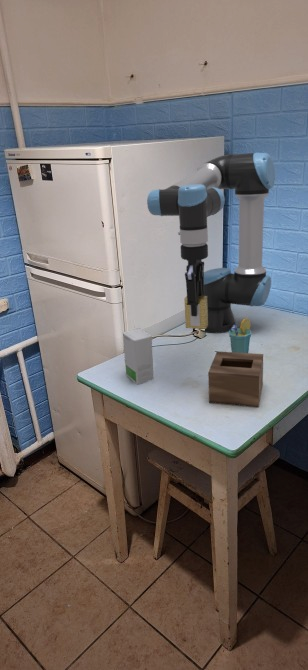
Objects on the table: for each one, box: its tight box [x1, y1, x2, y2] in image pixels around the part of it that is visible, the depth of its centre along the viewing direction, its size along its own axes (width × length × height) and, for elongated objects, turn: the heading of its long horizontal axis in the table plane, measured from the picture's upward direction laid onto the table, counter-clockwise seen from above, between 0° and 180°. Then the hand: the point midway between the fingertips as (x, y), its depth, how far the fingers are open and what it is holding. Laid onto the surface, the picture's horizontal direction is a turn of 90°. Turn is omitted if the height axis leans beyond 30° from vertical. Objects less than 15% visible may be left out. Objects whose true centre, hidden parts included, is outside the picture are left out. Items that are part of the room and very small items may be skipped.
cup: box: [228, 318, 252, 353], centre depth 156 cm, size 14×8×15 cm, turn 150°
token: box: [184, 295, 208, 330], centre depth 137 cm, size 3×6×9 cm, turn 72°
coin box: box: [207, 351, 264, 408], centre depth 138 cm, size 14×14×10 cm
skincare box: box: [122, 327, 154, 385], centre depth 151 cm, size 8×7×16 cm
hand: (196, 323), depth 138 cm, fingers closed on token, 3 cm apart
